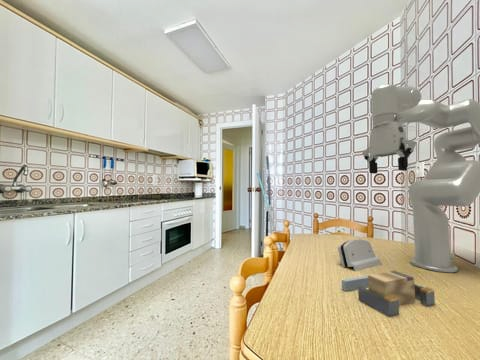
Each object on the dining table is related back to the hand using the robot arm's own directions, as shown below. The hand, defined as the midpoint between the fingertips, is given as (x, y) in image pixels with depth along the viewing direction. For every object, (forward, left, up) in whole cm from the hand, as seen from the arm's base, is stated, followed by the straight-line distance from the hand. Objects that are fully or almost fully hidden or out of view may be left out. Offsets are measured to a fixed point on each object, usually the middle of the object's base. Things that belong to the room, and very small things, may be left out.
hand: (387, 171), depth 70 cm
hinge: (+2, -10, -34) cm, 35 cm away
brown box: (+18, +13, -34) cm, 40 cm away
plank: (+18, +5, -33) cm, 38 cm away
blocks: (+18, +13, -33) cm, 40 cm away
